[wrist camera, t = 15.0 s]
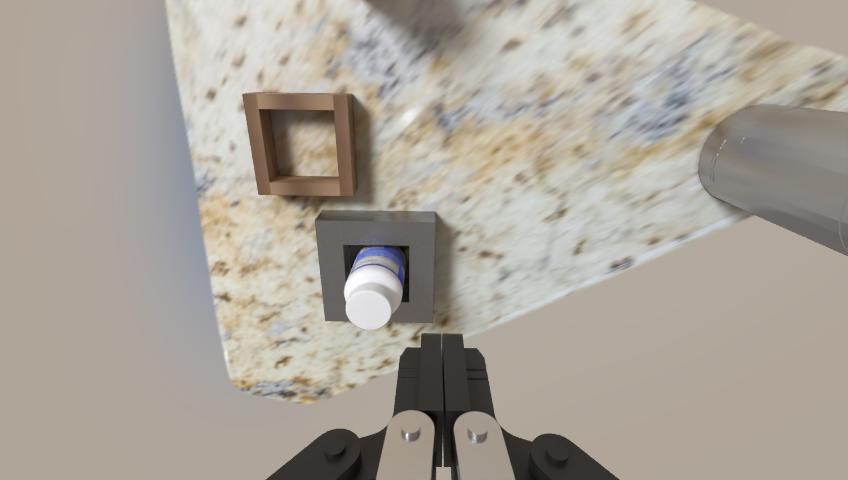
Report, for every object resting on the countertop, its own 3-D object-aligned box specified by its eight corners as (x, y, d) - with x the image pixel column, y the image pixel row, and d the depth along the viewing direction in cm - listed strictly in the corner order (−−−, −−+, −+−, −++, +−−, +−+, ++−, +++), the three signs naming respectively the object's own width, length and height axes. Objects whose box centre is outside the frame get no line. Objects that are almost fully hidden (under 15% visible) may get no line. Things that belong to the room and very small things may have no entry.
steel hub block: (434, 211, 40) (435, 222, 37) (432, 307, 44) (432, 322, 42) (322, 210, 40) (314, 220, 37) (331, 305, 44) (325, 321, 42)
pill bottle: (394, 289, 44) (386, 346, 35) (349, 271, 43) (328, 325, 34) (414, 249, 42) (411, 298, 33) (367, 230, 41) (350, 274, 32)
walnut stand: (352, 93, 35) (346, 95, 33) (357, 188, 39) (352, 196, 37) (254, 92, 35) (242, 93, 33) (268, 187, 39) (258, 194, 37)
